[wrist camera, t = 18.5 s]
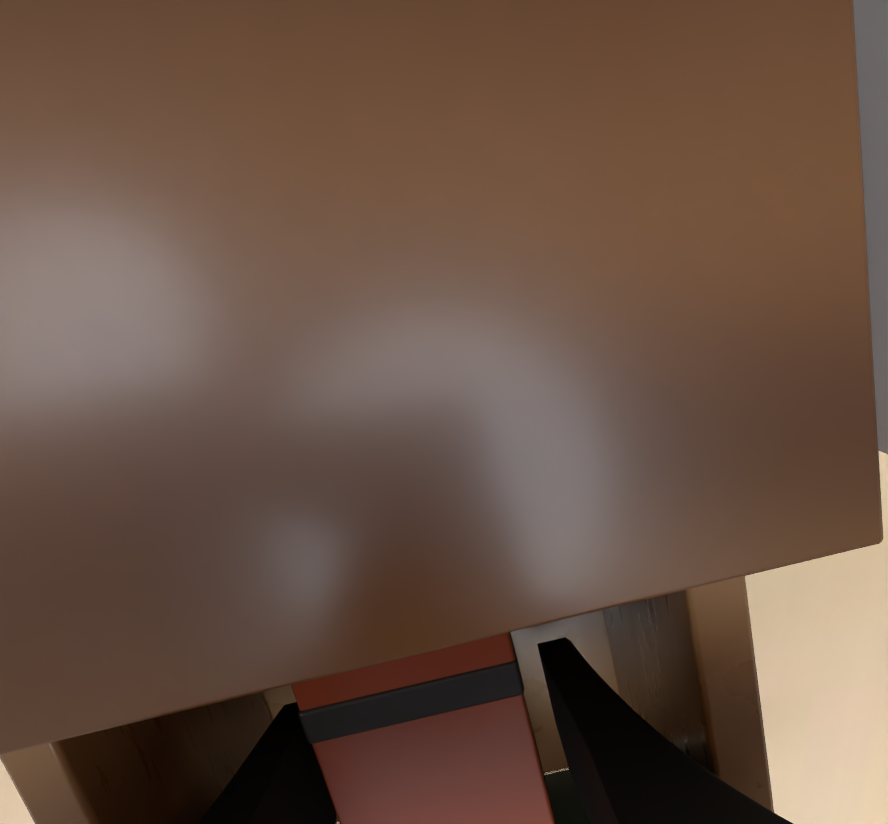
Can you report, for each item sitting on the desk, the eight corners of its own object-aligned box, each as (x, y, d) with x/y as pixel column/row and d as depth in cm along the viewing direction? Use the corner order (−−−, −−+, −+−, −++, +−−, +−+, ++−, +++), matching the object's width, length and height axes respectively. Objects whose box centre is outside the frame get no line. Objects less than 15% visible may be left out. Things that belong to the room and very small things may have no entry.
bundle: (537, 748, 14) (576, 904, 11) (390, 782, 14) (380, 949, 11) (481, 515, 13) (505, 607, 9) (316, 554, 13) (277, 662, 9)
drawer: (697, 904, 17) (862, 1279, 11) (348, 985, 17) (306, 1402, 11) (587, 275, 13) (761, 275, 6) (112, 393, 13) (-195, 513, 6)
